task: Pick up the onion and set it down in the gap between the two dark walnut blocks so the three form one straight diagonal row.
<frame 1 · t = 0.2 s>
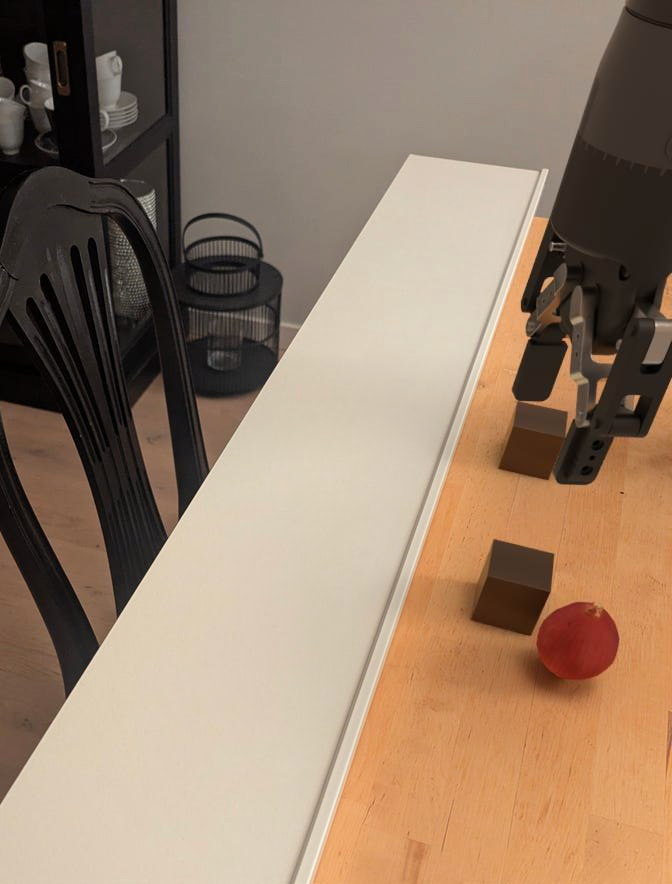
hand: (548, 437, 53), 24 cm above the table, tool pointing down, fingers open, 8 cm apart
onion: (559, 675, 73), on the table
walnut block far: (525, 460, 93), on the table
walnut block near: (503, 608, 78), on the table
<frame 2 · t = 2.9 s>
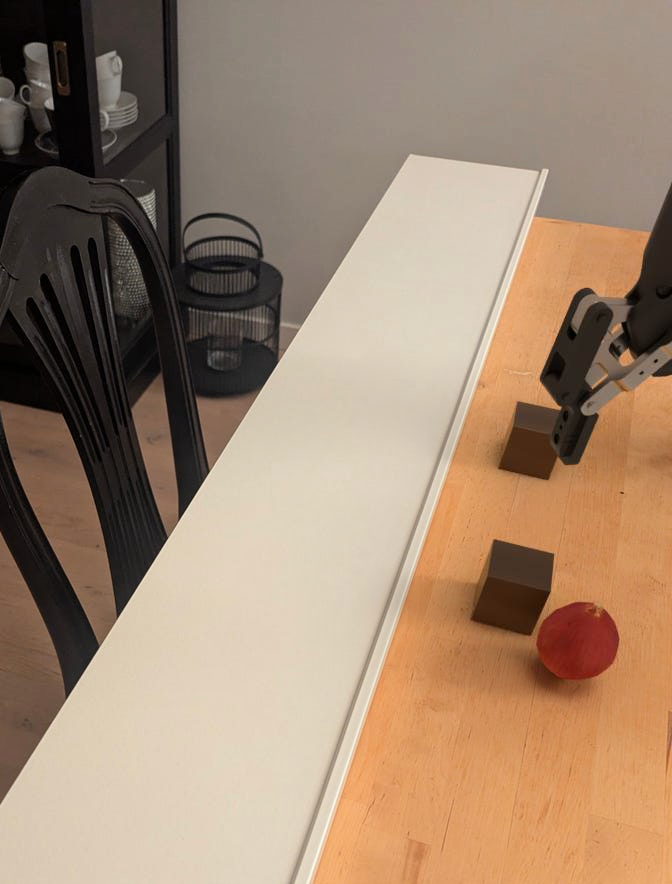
hand: (628, 455, 57), 21 cm above the table, tool pointing down, fingers open, 8 cm apart
nothing on the table moved.
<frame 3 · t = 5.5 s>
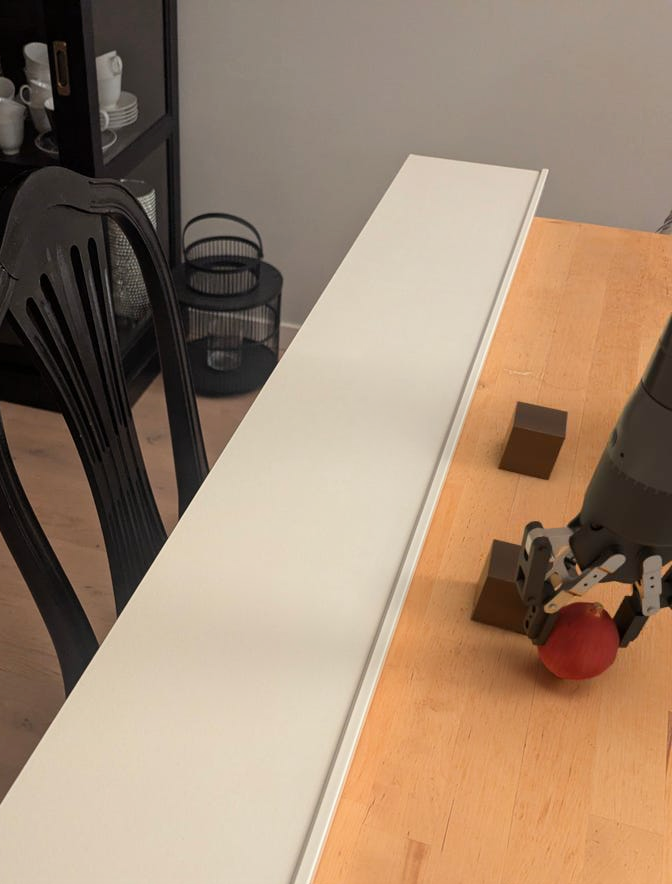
hand: (575, 638, 70), 4 cm above the table, tool pointing down, fingers closed on onion, 6 cm apart
onion: (559, 675, 73), on the table, touching gripper
everything else where it was.
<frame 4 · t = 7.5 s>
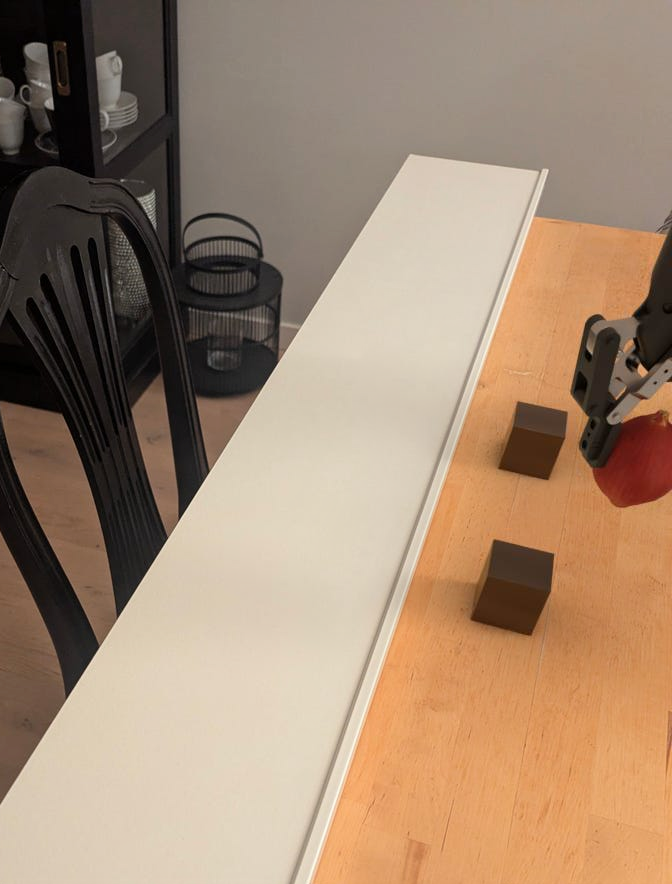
hand: (635, 459, 64), 17 cm above the table, tool pointing down, fingers closed on onion, 6 cm apart
onion: (616, 506, 67), point 13 cm above the table, touching gripper
everything else where it was.
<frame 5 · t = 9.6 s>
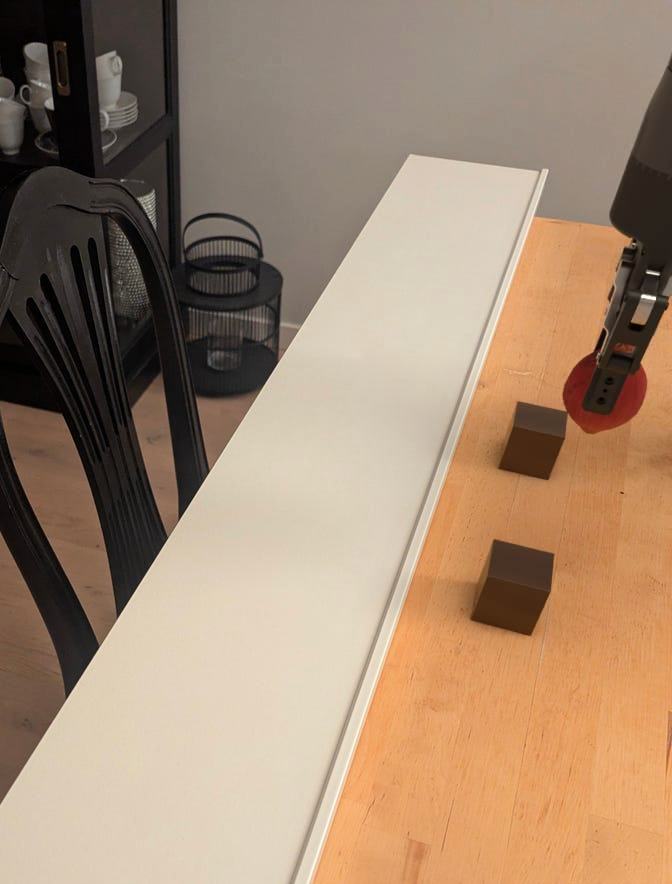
hand: (598, 389, 70), 17 cm above the table, tool pointing down, fingers closed on onion, 6 cm apart
onion: (586, 434, 73), point 13 cm above the table, touching gripper
everything else where it was.
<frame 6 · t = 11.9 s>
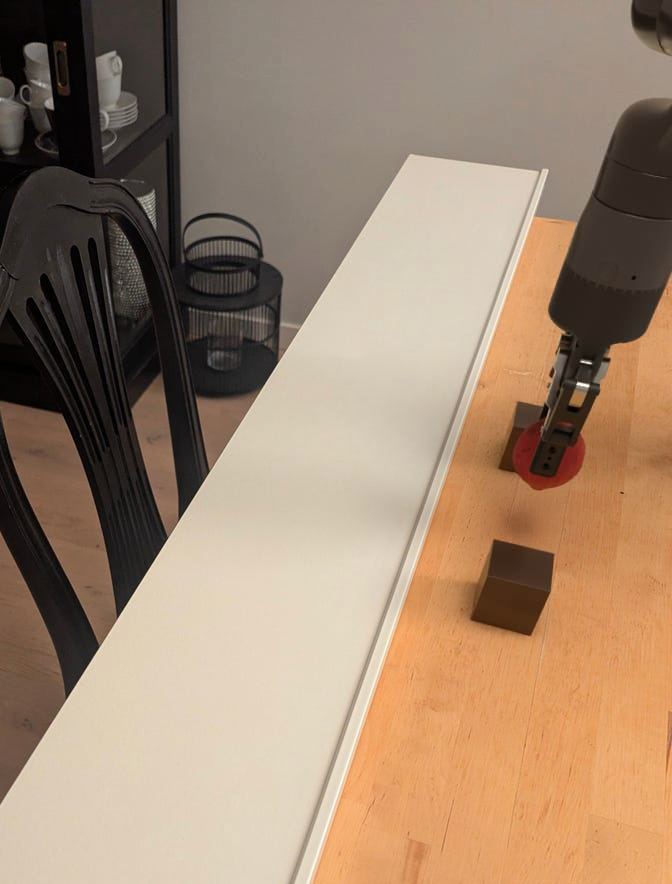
hand: (544, 453, 80), 8 cm above the table, tool pointing down, fingers closed on onion, 6 cm apart
onion: (534, 490, 82), point 4 cm above the table, touching gripper
everything else where it was.
when the fingers open (4 cm above the table, at t = 13.6 s): onion stays where it is, on the table.
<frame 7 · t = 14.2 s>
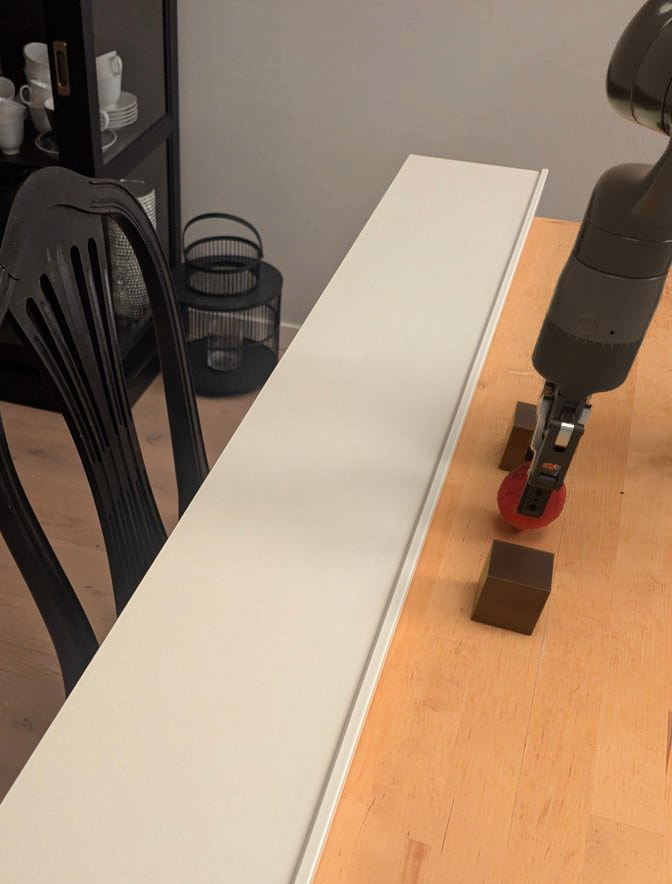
hand: (532, 486, 82), 5 cm above the table, tool pointing down, fingers open, 8 cm apart
onion: (518, 530, 86), on the table
everything else where it was.
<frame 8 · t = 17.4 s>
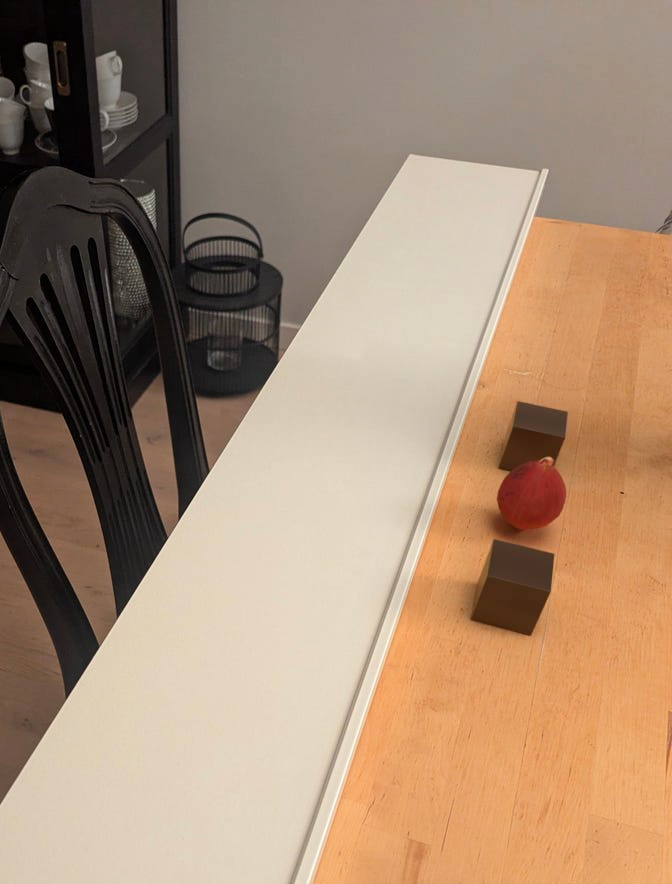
nothing on the table moved.
at the end: onion 0.3 cm from the target spot on the table beside the walnut block far, on the table; onion tilted 0°; walnut block near moved 0.0 cm from its start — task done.
